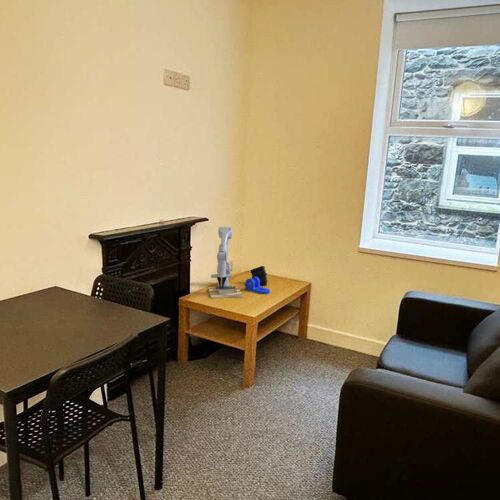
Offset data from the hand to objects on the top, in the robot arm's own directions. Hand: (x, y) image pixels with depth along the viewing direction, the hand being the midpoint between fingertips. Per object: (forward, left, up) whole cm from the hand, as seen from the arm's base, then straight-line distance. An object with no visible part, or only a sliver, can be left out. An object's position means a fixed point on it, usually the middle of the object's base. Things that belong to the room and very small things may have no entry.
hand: (221, 287), depth 313 cm
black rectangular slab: (-20, +31, -5) cm, 37 cm away
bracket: (-4, +28, -5) cm, 29 cm away
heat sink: (0, +3, -3) cm, 4 cm away
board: (0, +3, -4) cm, 5 cm away
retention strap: (0, +3, -1) cm, 3 cm away
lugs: (0, +2, -3) cm, 4 cm away
